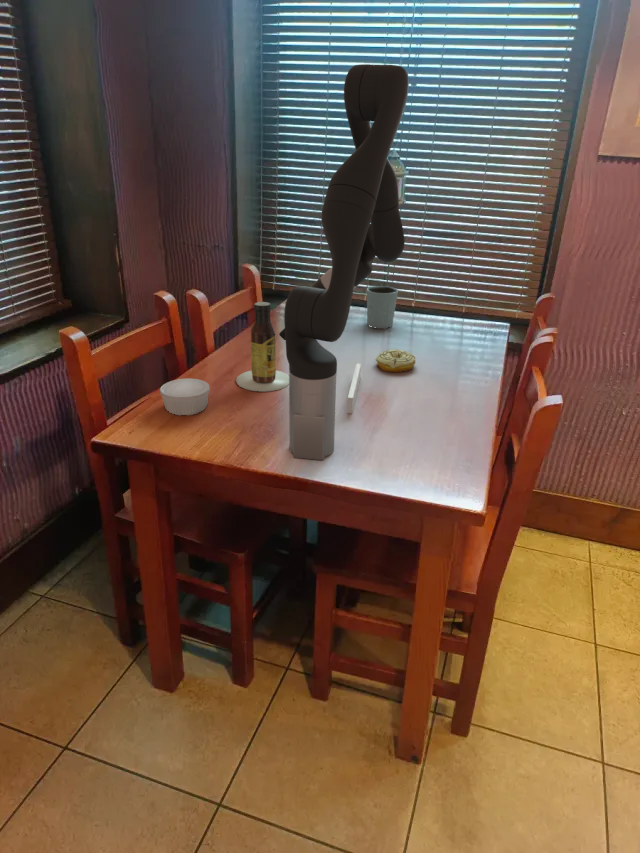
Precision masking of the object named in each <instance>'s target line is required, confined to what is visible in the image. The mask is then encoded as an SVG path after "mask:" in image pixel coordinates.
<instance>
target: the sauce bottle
mask: <svg viewBox="0 0 640 853" xmlns="http://www.w3.org/2000/svg"><path fill="white" fill-rule="evenodd" d="M271 306H272V305H271V303H270V302H268V301H259V302H255V303H254V304H253V309H254V321H255V322H254V323H253V325H252V327H251V329H250V358H251V359H250V361H251V364H250V365H251V366H250V367H251V371H252V378H253V380H254V381H255V382H258V383H269V382H272V381H274V380H275V375H276V370H277V361H276V360H277V357H276V356H277V355H276V354H277V353H276V352H277V350H276V349H277V348H276V347H277V346H276V340H277V339H276V333H275V330H274V327H273V324H272V322H271V308H272V307H271Z"/></svg>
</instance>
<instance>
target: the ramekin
mask: <svg viewBox="0 0 640 853" xmlns="http://www.w3.org/2000/svg"><path fill="white" fill-rule="evenodd" d="M210 389H211V388H210V384H209V383H208V382H206V381H204V380H202V379H198V378H180V379H179V378H178V379H174V380H170V381H167V382H166V383H164V384H162V386H161V387H159V393H160V396H161V397H162V401H163V404H164V408H165V409H166V410H167V412H168V411H169V412H168V413H170V414H171V413H172V415H174V414H175V416H181V415H187V416H193V414H194V415H197V414H200V413H201V411H202V412H203V411H205V409H206V408H207V406H208V402H209V400H208V399H209V393H210V391H211V390H210ZM199 412H200V413H199Z"/></svg>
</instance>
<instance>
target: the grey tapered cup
mask: <svg viewBox="0 0 640 853" xmlns="http://www.w3.org/2000/svg"><path fill="white" fill-rule="evenodd" d="M398 295H399V290H398V288H395V287H392V286H385V285H373V286H369V287H367V288H366V299H367V300H366V307H367V308H366V325H367V324H368V325H370V326H372V327H376V328H388V327H391V326H392V327H393V325H394V317H395V312H396V305H397V299H398ZM368 325H367V326H368ZM392 327H391V328H392ZM388 329H389V328H388Z"/></svg>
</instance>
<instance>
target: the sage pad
mask: <svg viewBox="0 0 640 853" xmlns="http://www.w3.org/2000/svg"><path fill="white" fill-rule="evenodd" d="M236 384H237V386H238V385H239V386H238V387H240V388H241V387H242V388H241V389H243V388H244V390H246V391H250V392H257V391H258V392H260V393H262V392H265V393H267V392H274V391H278V390H282V389H284V388H286V387H289V374H288V373H286V372H284V371H280V370H277V369H276V375H275V380H274V381H272V382H269V383H258V382H255V381H254V380H253V378H252V370H248V371H245V372H242V373H241V374H239V375H238V376H237V377H236Z"/></svg>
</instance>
